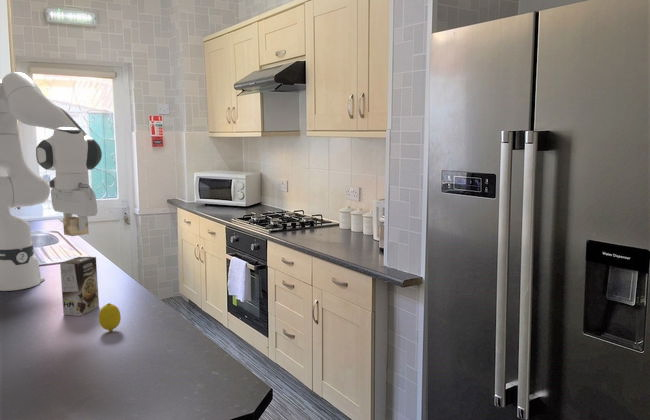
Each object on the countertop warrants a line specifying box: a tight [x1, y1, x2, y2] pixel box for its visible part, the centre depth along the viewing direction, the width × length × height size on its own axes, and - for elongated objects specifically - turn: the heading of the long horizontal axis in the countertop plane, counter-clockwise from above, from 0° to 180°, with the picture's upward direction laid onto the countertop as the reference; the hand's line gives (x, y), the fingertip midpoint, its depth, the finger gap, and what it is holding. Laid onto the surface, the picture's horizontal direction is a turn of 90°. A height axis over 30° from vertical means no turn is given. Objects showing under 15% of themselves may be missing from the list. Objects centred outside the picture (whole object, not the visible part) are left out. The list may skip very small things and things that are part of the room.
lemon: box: [98, 302, 122, 332], centre depth 150 cm, size 6×6×8 cm
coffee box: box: [59, 256, 100, 317], centre depth 167 cm, size 9×6×16 cm
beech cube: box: [62, 215, 90, 237], centre depth 164 cm, size 5×5×5 cm
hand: (76, 228), depth 164 cm, fingers closed on beech cube, 5 cm apart
